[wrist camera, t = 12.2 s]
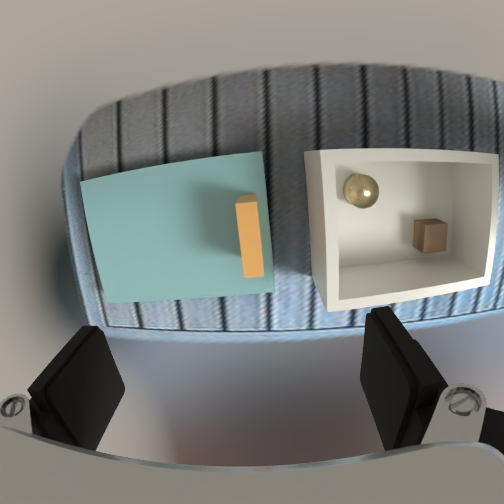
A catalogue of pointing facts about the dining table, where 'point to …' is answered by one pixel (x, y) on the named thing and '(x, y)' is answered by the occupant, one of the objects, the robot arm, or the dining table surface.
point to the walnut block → (430, 235)
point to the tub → (400, 224)
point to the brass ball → (361, 190)
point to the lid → (182, 230)
